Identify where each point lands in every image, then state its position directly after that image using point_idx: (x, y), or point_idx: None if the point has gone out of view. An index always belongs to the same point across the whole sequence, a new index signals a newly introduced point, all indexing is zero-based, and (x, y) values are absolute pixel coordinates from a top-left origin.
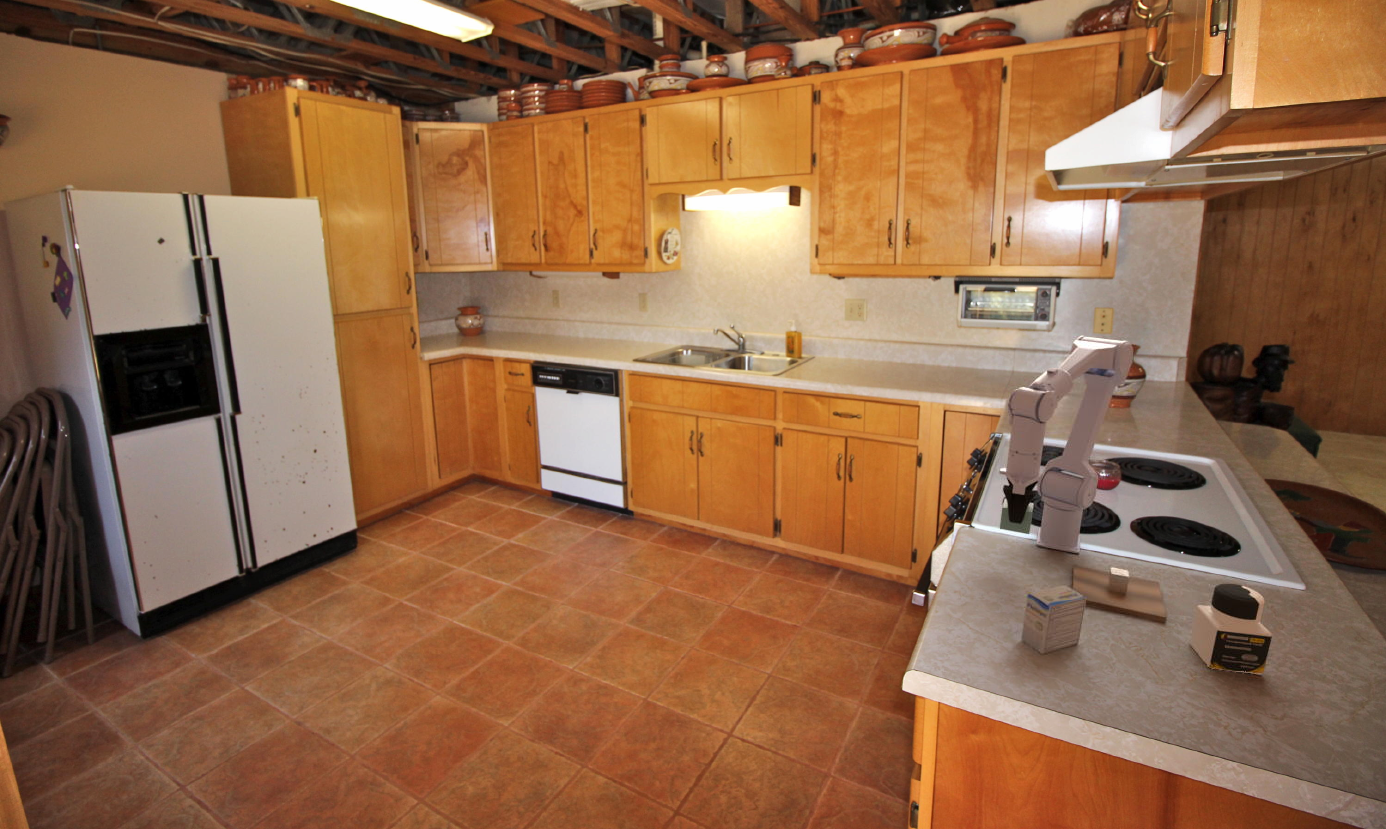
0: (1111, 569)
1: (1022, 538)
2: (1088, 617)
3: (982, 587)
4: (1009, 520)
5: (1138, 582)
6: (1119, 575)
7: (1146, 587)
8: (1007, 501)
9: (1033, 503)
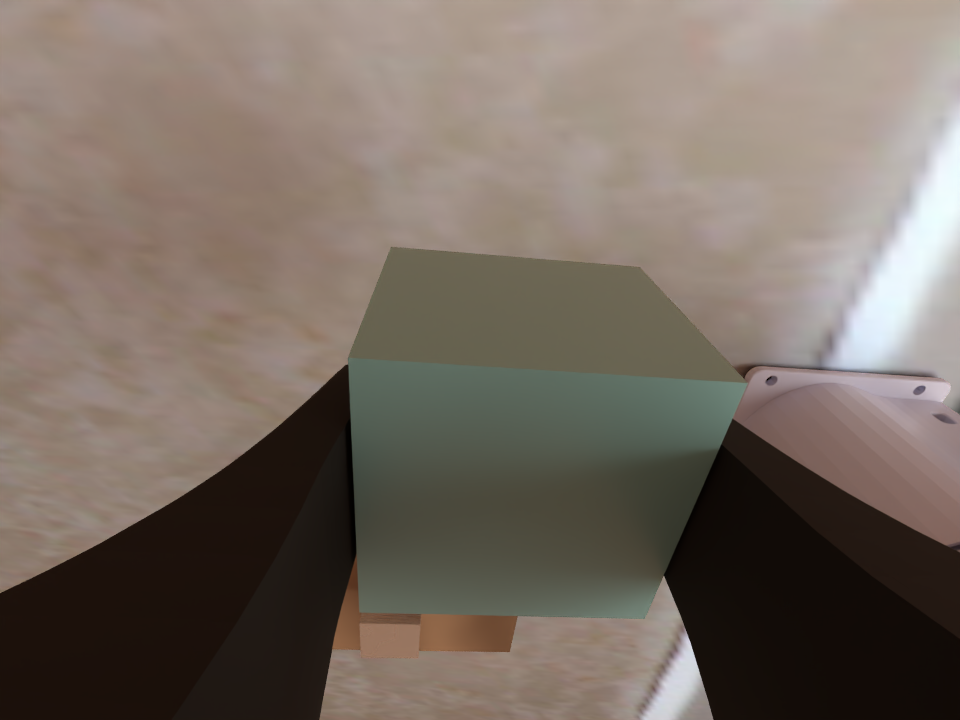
0: (398, 625)
1: (839, 308)
2: (169, 493)
3: (125, 108)
4: (341, 369)
5: (482, 618)
6: (361, 637)
7: (455, 629)
8: (141, 523)
9: (634, 616)
